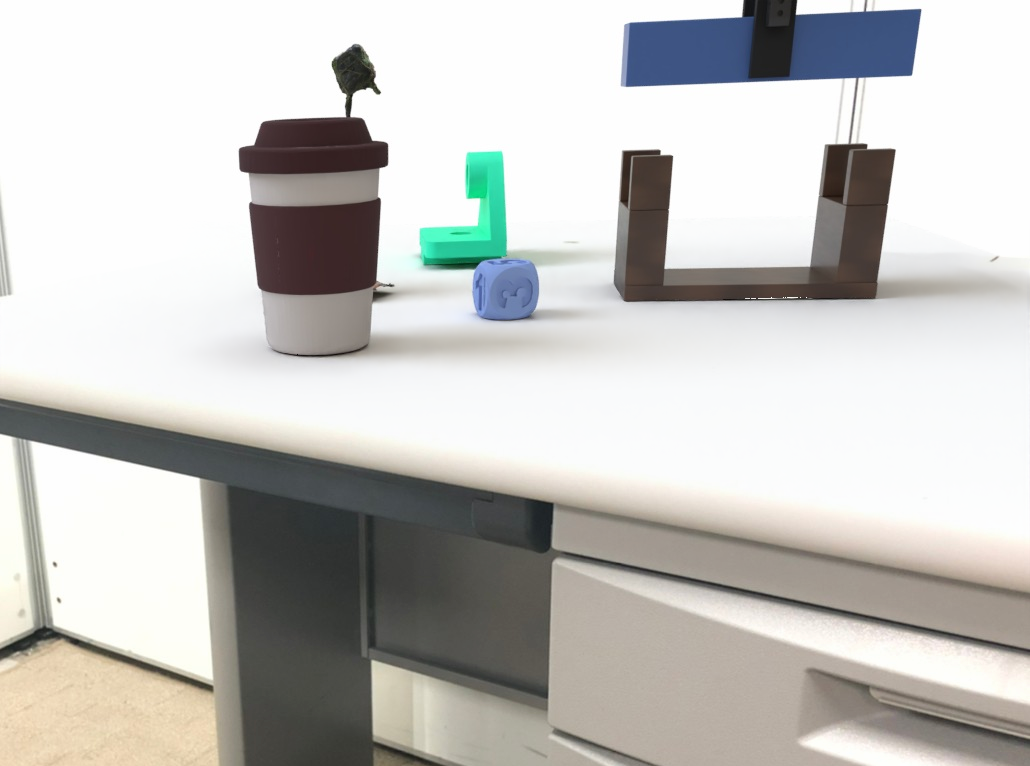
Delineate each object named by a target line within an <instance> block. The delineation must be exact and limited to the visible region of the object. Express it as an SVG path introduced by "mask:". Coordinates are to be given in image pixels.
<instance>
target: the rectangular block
mask: <svg viewBox="0 0 1030 766" xmlns="http://www.w3.org/2000/svg"><path fill="white" fill-rule="evenodd" d="M921 18H922V8H912V9H911V8H910V9H892V10H891V9H887V10H870V11H869V10H868V11H867V10H866V11H847V12H846V11H845V12H822V13H801V14H799V13H798V14H796V19H795V28H794V38H793V47H792V56H791V66H790V75H789V77H774V78H748V76H749V65H750V54H751V44H752V33H753V23H754V17H742V16H738V17H735V16H734V17H718V18H717V17H713V18H697V19H696V18H695V19H676V20H675V19H674V20H653V21H632V22H628V23H625V24H624V25H623V37H622V55H621V74H620V87H623V88H637V87H662V86H663V87H667V86H687V85H692V86H693V85H714V84H716V85H717V84H739V83H764V82H765V83H766V82H788V81H789V82H791V81H794V82H795V81H812V80H813V81H815V80H816V81H817V80H842V79H843V80H845V79H864V78H866V79H868V78H893V77H895V78H896V77H912V76H913V74H914V73H913V72H914V67H915V66H914V65H915V59H916V51H917V46H918V45H917V44H918V37H919V32H920V31H919V30H920V25H921Z"/></svg>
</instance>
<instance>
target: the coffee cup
mask: <svg viewBox="0 0 1030 766" xmlns="http://www.w3.org/2000/svg"><path fill="white" fill-rule="evenodd" d="M388 166H389V143H388V142H386V141H381V140H373V138H372V135H371V134H370V131H369V129H368V126H367V123H366V120H365V119H364V118H362V117H356V116H351V117H346V116H331V117H305V118H304V117H303V118H302V117H301V118H283V119H282V118H281V119H272V120H265V121H262V122H261V123H260V126H259V129H258V132H257V134H256V138H255V141H254V144H251V145H244V146H241V147H239V148H238V167H239V171H240V172H241V173H246V174H248V180H249V181H248V182H249V191H250V199H251V201H250V202H249V203H248V212H249V221H250V229H251V230H250V231H251V239H252V246H253V257H254V265H255V273H256V282H257V287H258V289H259V290H261V299H262V310H263V318H264V319H263V320H264V327H265V337H266V343H267V344H268V346H269V347H270V348H271V349H272V350H274V351H275V352H279V353H282V354H289V355H297V354H298V355H299V356H301V355H302V356H326V355H337V354H344V353H349V352H353V351H357V350H360V349H363V348H364V347H365V346H367V345H368V344H369V342H370V340H371V334H372V333H371V332H372V315H373V296H374V294H373V293H374V291H373V286H374V285H375V284H376V280H377V281H378V279H377V278H378V263H379V262H378V260H379V247H380V246H379V243H380V230H381V229H380V228H381V211H382V199H381V198H380V197H379V189H380V188H379V186H380V185H379V184H380V169H383V168H386V167H388ZM298 355H297V356H298Z"/></svg>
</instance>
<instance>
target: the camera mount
mask: <svg viewBox="0 0 1030 766" xmlns="http://www.w3.org/2000/svg"><path fill="white" fill-rule="evenodd" d="M503 153H504V152H503V151H502V150H496V151H495V150H493V151H467V152H466V156H465V165H464V166H465V167H464V182H465V183H464V187H465V188H464V189H465V197H466V198H465V199H467V200H477V199H479V206H478V216H477V217H478V218H477V225H462V226H461V225H460V226H459V225H457V226H433V227H432V226H431V227H420V228H419V247H420V259H421V262H422V264H423V265H424V266H426V265H427V266H428V265H454V264H455V265H458V264H480V263H481V262H482V261H485V260H492V259H503V257H507V253H508V234H507V233H508V232H507V231H508V230H507V228H508V227H507V210H506V187H505V186H506V185H505V166H504V165H505V164H504V154H503Z"/></svg>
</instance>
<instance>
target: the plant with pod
mask: <svg viewBox="0 0 1030 766" xmlns="http://www.w3.org/2000/svg"><path fill="white" fill-rule="evenodd" d="M331 68H332V70H333V73H334V75H335V79H336V80H335V81H336V82H337V84H338V88H339V90H340V92H341V93H342V94H345V96H346V97H345V102H344V103H345V104H344V110H345V117H352V116H351V115H352V108H353V96H354V94H355V93H357V92H359V91H366V90H367V89H371V90H372V92H373V93H375V95H378V96H380V95H381V94H382V91H381V90H380V89H379V87H378V86H377V83H375V79H376V77H377V71H376V70H375V65H374V64H373V62H371V60H370V57H369V55H368V53H367V51H366V50H365V49H364V47H363V46H362V45H361V44H359V43H353V44H352V45H351V46H350V47H348V48H346V49H345V50H344V51H342V52H341V53H339V54H338V55H337V56H335V57H334V58H333V59H332V60H331ZM379 287H383V288H393V287H395V284H394V283H391V282H389V284H388V283H383V282H380V281H378V279H377V280H376V284H375V285H374V286H373V295H374V294H375V292H377V291H378V290H377V289H378V288H379Z"/></svg>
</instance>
